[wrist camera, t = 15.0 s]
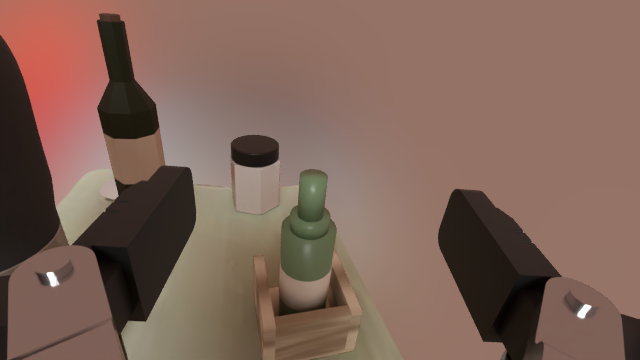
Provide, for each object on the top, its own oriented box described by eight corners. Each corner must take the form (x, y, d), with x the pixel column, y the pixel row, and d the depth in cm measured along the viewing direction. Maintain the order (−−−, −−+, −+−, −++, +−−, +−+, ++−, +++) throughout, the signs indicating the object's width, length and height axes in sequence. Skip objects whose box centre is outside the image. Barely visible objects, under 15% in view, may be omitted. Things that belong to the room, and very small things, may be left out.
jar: (283, 194, 66) (286, 138, 60) (272, 218, 59) (274, 157, 53) (240, 187, 67) (238, 131, 61) (224, 210, 60) (220, 149, 54)
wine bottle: (140, 178, 66) (106, 10, 52) (178, 186, 65) (154, 16, 50) (108, 200, 59) (58, 12, 44) (149, 209, 58) (112, 19, 43)
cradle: (353, 350, 38) (362, 312, 35) (263, 369, 36) (263, 329, 32) (328, 282, 47) (333, 246, 44) (253, 293, 44) (253, 256, 41)
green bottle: (268, 323, 40) (270, 178, 30) (294, 292, 44) (304, 156, 34) (308, 348, 38) (325, 199, 28) (332, 312, 42) (354, 173, 32)
